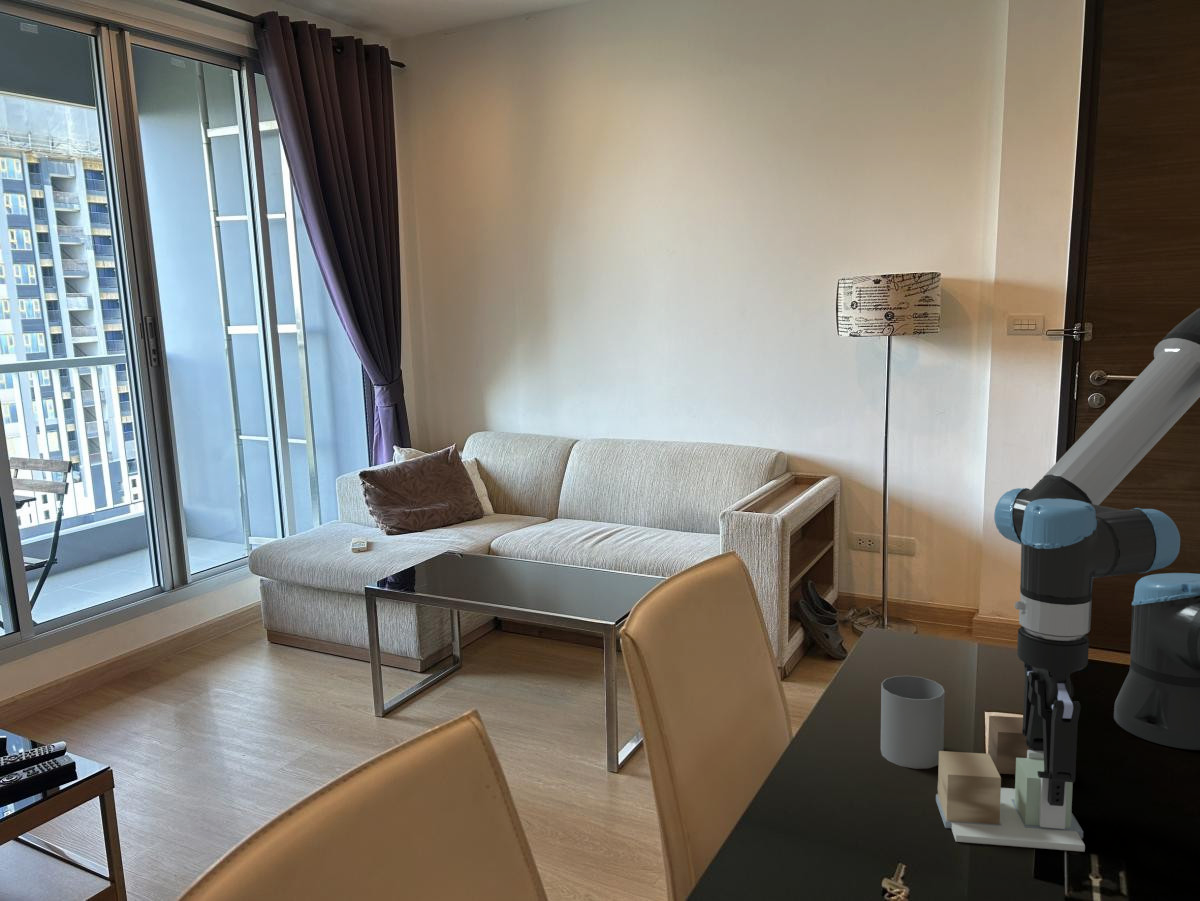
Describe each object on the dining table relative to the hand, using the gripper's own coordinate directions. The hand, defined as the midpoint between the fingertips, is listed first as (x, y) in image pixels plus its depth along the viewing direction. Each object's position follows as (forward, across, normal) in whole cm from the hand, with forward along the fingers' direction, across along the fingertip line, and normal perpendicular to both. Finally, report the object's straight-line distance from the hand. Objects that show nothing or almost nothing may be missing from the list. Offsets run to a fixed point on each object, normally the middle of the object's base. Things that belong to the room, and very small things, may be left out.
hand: (1044, 812), depth 107 cm
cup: (+1, -16, -13) cm, 20 cm away
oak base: (0, 0, -9) cm, 9 cm away
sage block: (0, 0, 0) cm, 0 cm away
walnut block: (+1, -14, 0) cm, 14 cm away
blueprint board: (+1, 0, -4) cm, 4 cm away
